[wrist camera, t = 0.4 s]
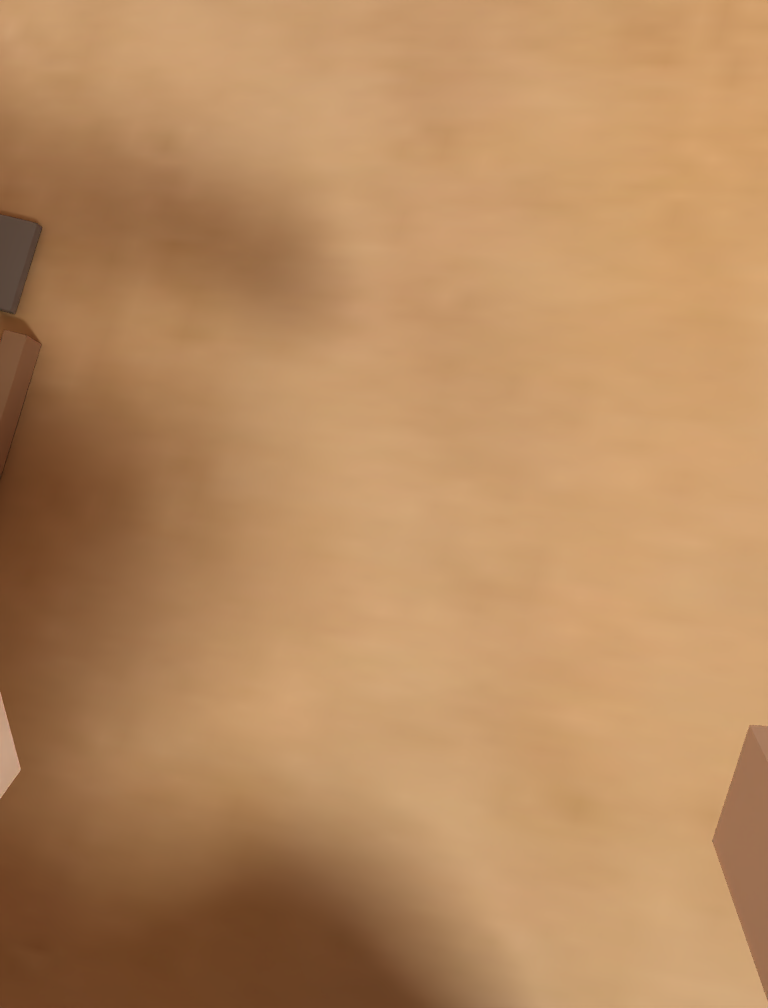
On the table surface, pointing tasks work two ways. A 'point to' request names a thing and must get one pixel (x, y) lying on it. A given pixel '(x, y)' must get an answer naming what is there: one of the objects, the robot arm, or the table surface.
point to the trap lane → (10, 363)
